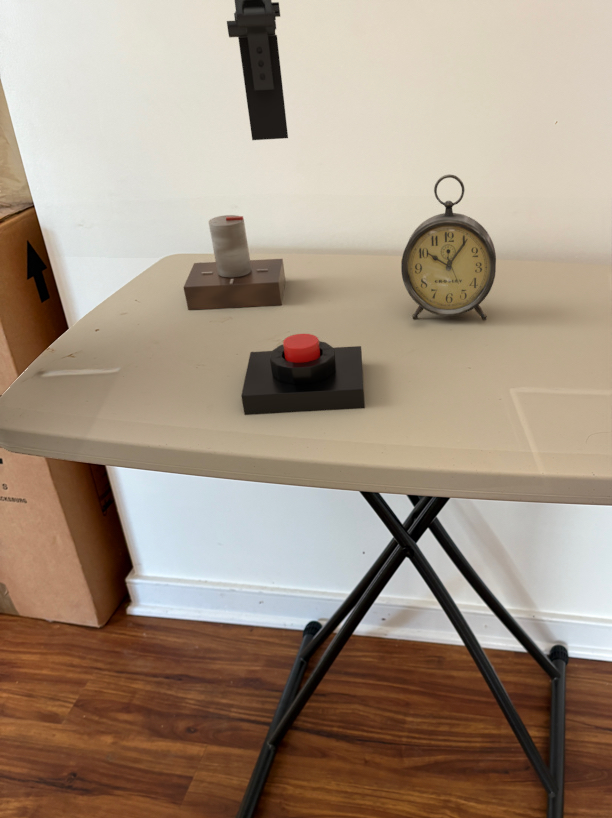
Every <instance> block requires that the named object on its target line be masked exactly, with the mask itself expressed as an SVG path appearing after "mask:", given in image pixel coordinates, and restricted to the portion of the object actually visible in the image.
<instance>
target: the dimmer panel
mask: <svg viewBox="0 0 612 818" xmlns="http://www.w3.org/2000/svg"><path fill="white" fill-rule="evenodd" d="M250 262H251V269H252V270H251V272H250V273H249V274H247V275H244V276H241V277H234V278H228V277H222V276H220V275H218V272H217V267H216V261H209V262H193V264H192V267H191V269H190V271H189V274H188V276H187V279H186V280H185V283H184V284H183V291H184V295H185V296H184V297H185V301H186V306H187V310H188V311H193V310H211V309H229V308H230V309H231V308H234V309H235V308H251V307H268V306H282V304H283V298H284V292H285V286H286V273H285V266H284V259H283V258H270V259H269V258H268V259H250Z"/></svg>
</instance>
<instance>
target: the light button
mask: <svg viewBox="0 0 612 818" xmlns="http://www.w3.org/2000/svg"><path fill="white" fill-rule="evenodd" d="M319 341H320V340H319V337H317V335H314V334H311V333H297V334H292V335H289V336H287V337H285V338H284V340H283V341H282V344H283V347H284V354H285V359H286V361H290V362H295V363H300V362H309V361H313V360H316V359H318V358H319V357H320V347H319Z"/></svg>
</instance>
